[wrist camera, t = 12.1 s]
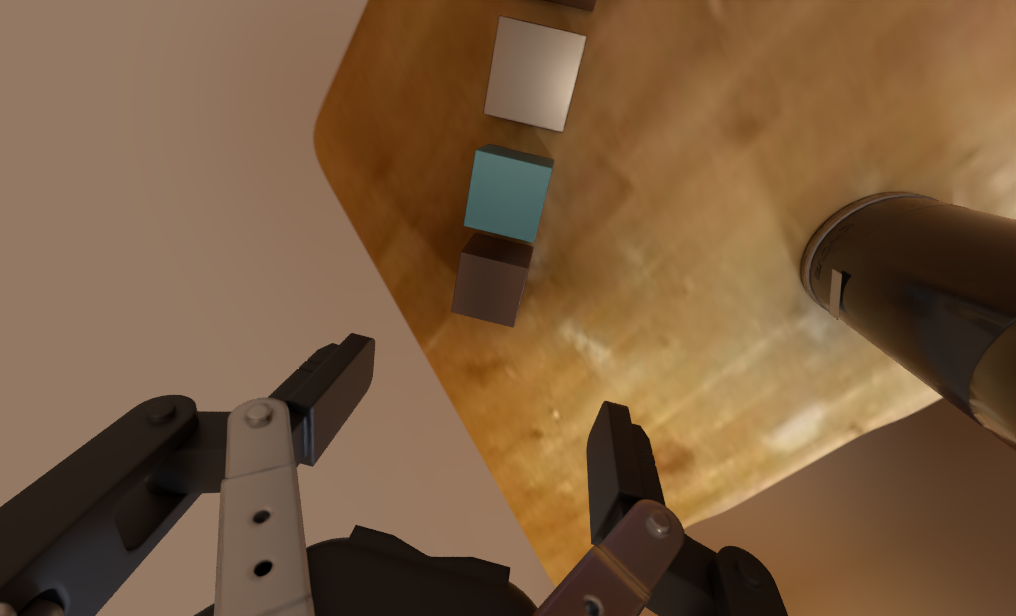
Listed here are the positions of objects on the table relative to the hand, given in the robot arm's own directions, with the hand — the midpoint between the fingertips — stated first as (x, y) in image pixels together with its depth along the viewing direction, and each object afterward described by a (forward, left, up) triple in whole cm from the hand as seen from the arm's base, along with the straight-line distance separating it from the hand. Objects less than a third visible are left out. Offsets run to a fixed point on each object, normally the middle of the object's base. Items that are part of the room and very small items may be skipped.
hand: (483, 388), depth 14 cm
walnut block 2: (+2, -10, -21) cm, 23 cm away
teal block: (+2, -3, -21) cm, 21 cm away
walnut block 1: (+2, +4, -21) cm, 21 cm away
